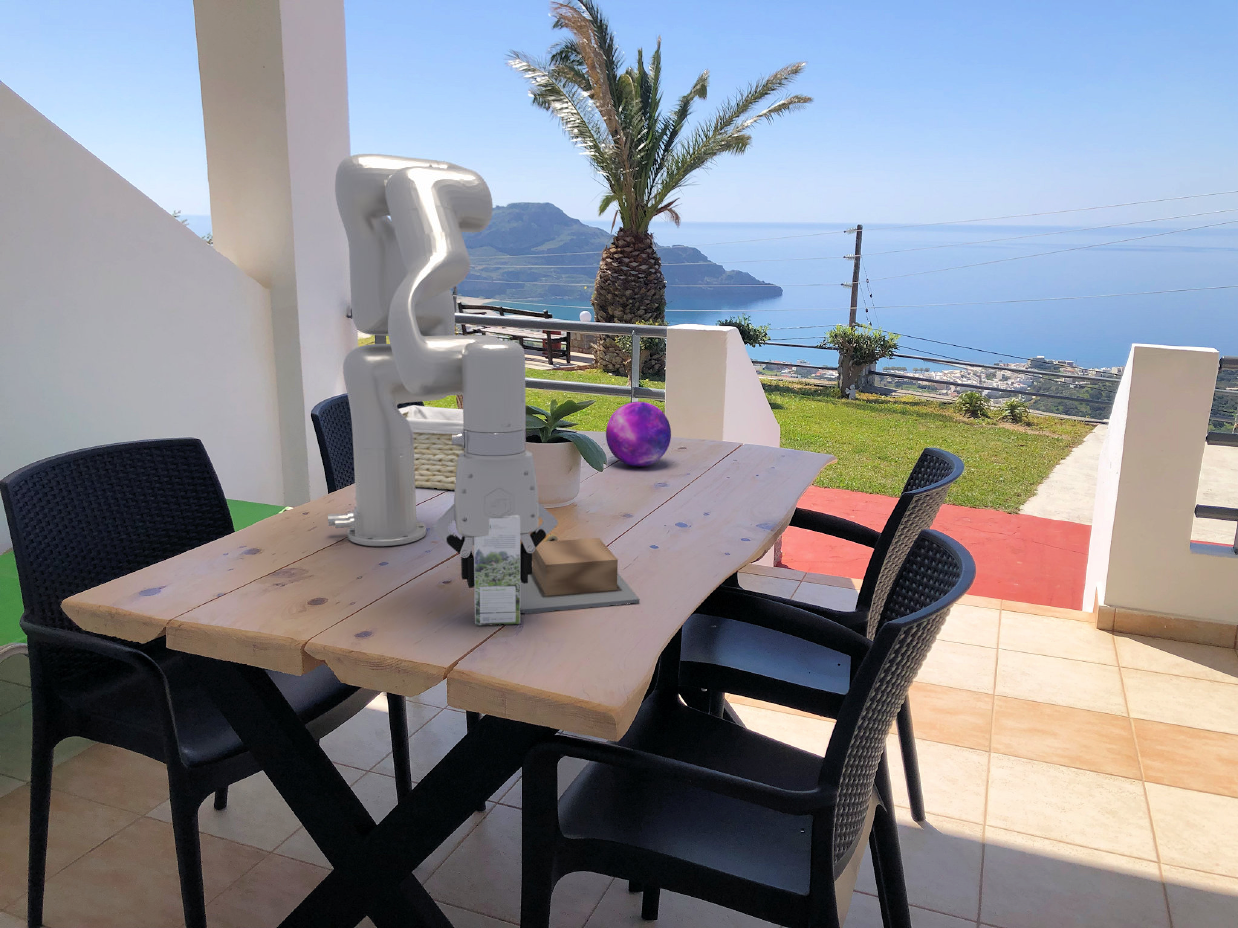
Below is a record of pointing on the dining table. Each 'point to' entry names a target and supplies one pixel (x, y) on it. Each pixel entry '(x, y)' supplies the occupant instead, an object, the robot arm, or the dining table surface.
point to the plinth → (574, 567)
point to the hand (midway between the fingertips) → (497, 580)
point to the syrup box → (498, 573)
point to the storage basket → (435, 444)
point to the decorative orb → (638, 434)
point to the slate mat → (572, 598)
